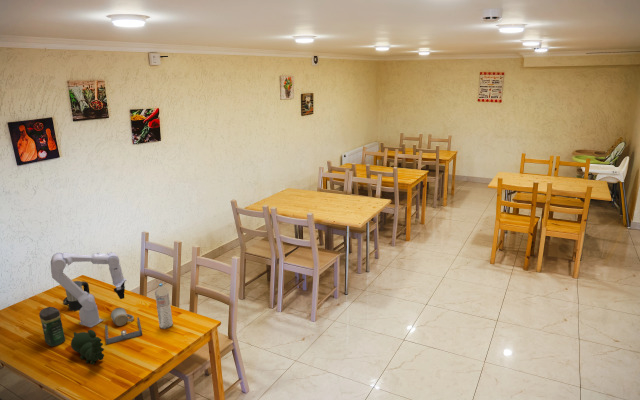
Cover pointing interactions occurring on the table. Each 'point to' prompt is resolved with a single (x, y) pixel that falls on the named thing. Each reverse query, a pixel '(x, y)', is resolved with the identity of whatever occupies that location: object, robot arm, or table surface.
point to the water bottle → (163, 307)
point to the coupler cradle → (123, 334)
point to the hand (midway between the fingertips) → (122, 295)
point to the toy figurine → (88, 346)
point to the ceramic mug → (120, 316)
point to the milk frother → (71, 300)
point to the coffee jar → (52, 326)
